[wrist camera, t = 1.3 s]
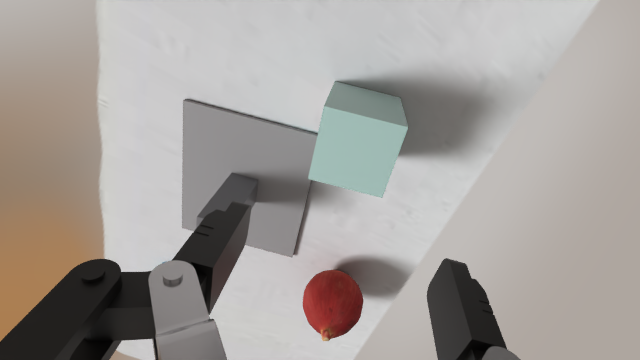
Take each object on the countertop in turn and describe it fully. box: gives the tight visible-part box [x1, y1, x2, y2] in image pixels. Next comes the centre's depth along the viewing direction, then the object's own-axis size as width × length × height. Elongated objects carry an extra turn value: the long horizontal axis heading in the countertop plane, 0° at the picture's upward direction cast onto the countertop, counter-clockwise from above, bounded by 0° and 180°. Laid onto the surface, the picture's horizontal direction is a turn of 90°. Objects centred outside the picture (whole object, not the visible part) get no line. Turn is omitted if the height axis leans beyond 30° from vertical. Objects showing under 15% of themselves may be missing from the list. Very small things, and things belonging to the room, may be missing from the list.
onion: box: [303, 270, 363, 341], centre depth 32 cm, size 6×6×8 cm
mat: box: [182, 99, 318, 257], centre depth 31 cm, size 14×12×1 cm
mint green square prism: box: [308, 81, 408, 198], centre depth 24 cm, size 5×5×7 cm
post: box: [196, 173, 259, 228], centre depth 28 cm, size 3×3×7 cm
